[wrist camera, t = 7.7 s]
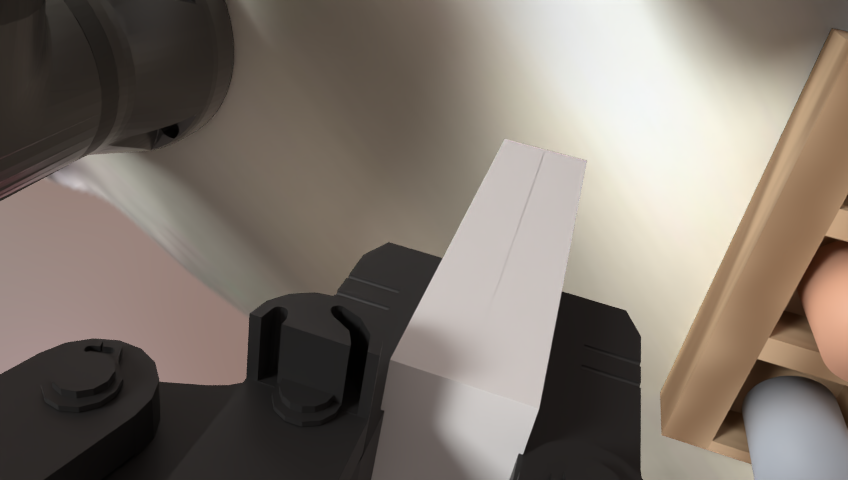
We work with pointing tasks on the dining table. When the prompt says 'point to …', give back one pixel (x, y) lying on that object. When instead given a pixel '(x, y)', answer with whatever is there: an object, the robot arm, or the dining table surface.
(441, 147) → the dining table surface
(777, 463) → the blue-grey cylinder
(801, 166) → the wooden peg tray
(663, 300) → the dining table surface
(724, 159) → the dining table surface
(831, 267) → the peach cylinder
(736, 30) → the dining table surface
